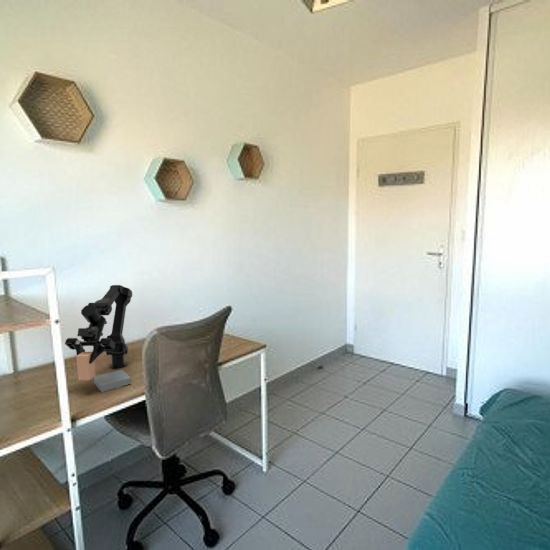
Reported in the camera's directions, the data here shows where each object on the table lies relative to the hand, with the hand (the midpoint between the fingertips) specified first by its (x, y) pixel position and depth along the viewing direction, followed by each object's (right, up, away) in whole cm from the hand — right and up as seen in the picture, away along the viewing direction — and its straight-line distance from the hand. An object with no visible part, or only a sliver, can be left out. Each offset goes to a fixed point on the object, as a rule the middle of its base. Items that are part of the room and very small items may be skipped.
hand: (83, 363), depth 154 cm
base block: (+6, -12, +12) cm, 18 cm away
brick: (0, -6, +2) cm, 7 cm away
